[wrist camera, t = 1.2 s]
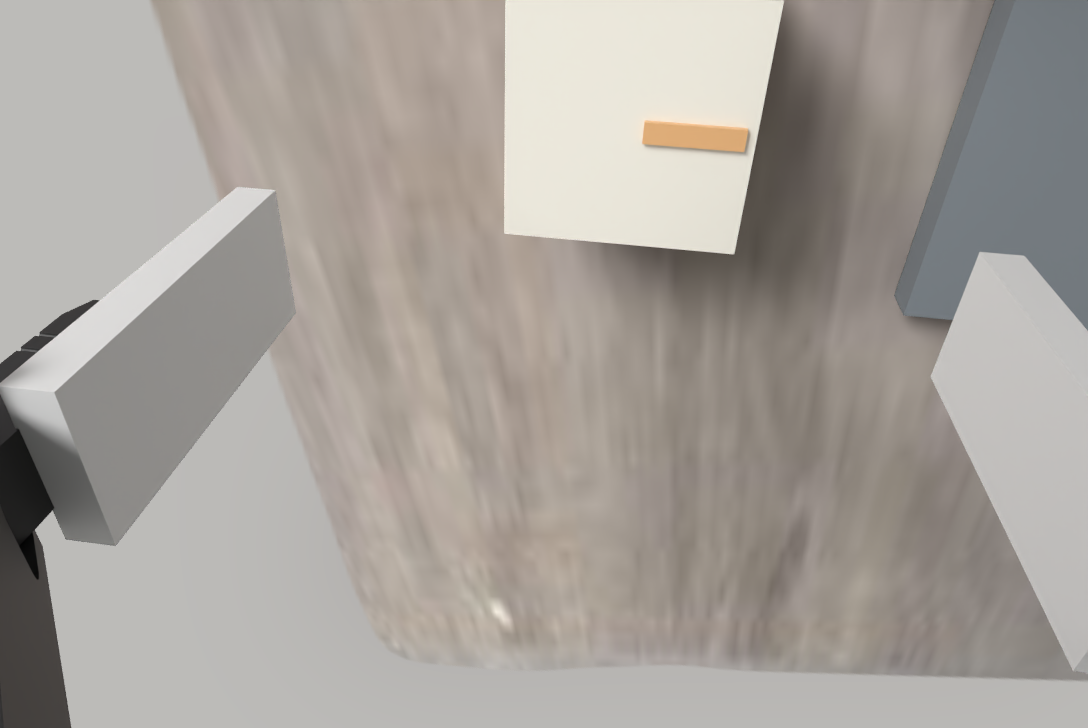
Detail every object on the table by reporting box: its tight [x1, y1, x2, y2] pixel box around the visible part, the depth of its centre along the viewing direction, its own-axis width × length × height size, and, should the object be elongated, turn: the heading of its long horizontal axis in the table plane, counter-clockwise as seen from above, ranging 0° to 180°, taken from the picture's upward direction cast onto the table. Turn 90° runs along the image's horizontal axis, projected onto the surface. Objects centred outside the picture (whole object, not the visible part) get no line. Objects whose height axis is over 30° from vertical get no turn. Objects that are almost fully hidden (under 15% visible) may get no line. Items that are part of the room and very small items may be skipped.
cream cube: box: [504, 0, 784, 254], centre depth 24 cm, size 7×7×7 cm
